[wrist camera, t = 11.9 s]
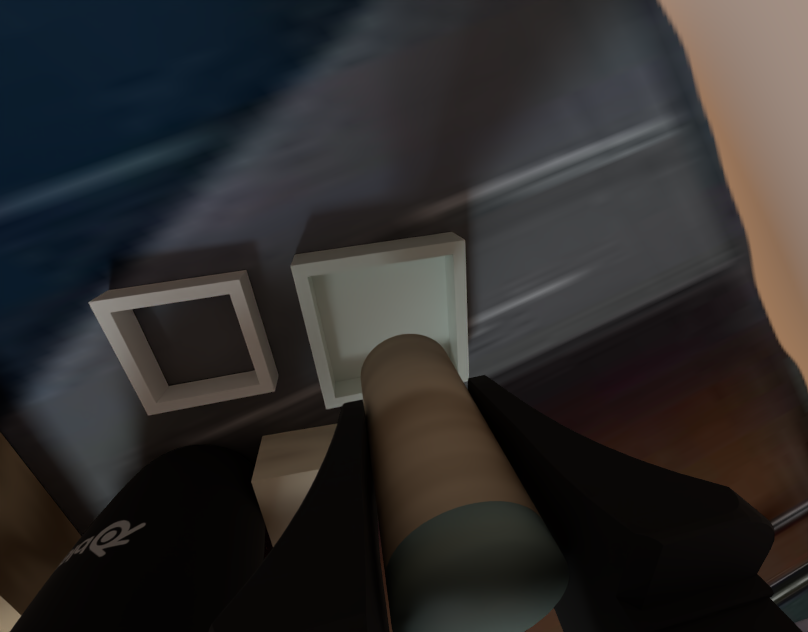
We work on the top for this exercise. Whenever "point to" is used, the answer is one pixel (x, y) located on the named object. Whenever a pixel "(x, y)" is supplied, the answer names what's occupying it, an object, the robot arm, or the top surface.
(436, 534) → the dowel
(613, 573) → the robot arm
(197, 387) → the collar
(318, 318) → the tray
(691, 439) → the top surface
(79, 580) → the mug
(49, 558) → the bench stop
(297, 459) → the push block
